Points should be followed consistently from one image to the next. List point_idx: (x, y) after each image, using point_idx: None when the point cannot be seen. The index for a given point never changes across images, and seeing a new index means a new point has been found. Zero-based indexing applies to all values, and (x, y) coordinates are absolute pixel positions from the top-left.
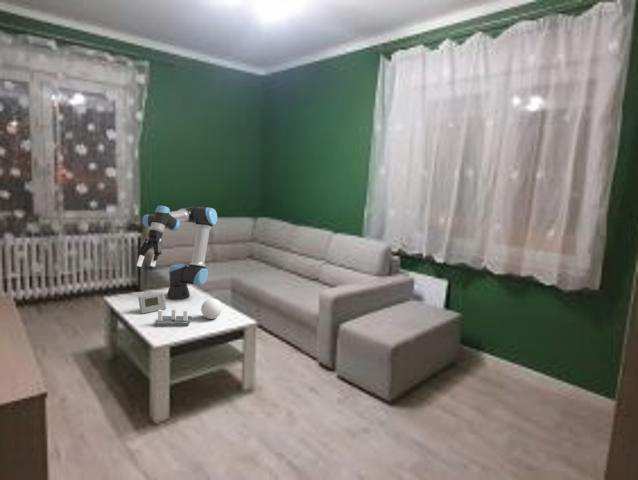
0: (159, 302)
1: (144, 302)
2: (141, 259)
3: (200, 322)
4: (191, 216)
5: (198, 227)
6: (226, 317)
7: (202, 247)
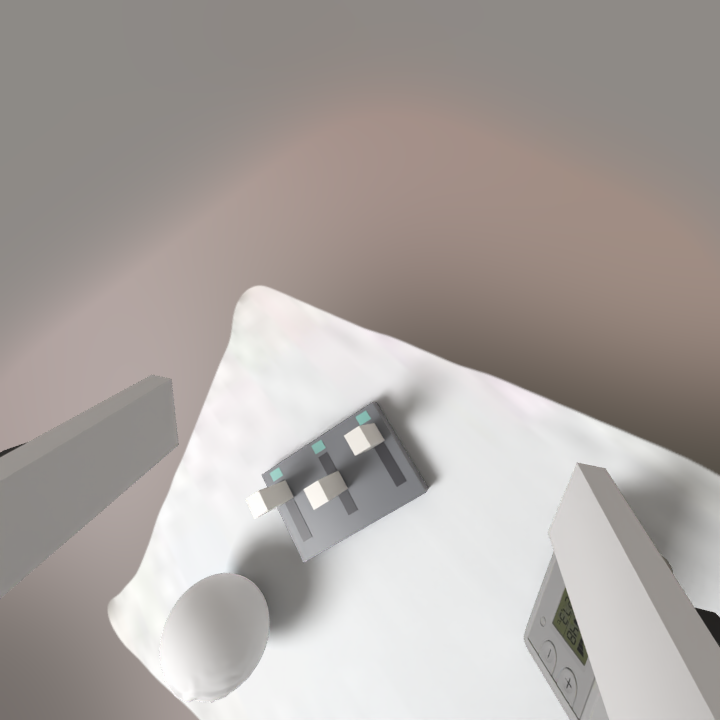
0: (555, 639)
1: None
2: (622, 655)
3: (256, 536)
4: None
5: None
6: None
7: None
